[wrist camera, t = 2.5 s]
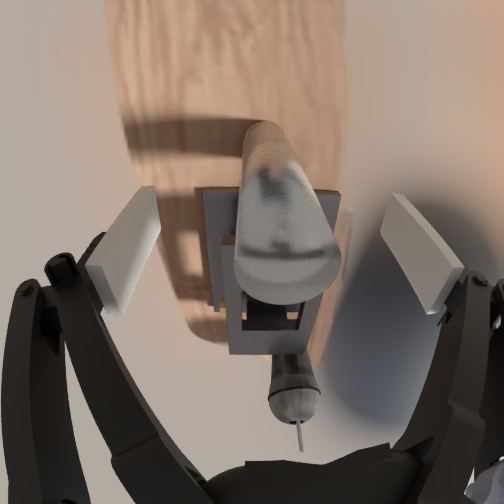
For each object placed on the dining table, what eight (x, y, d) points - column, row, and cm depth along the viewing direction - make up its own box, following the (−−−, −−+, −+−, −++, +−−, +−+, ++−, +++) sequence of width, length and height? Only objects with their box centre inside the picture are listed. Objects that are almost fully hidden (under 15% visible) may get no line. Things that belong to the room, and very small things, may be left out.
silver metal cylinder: (243, 120, 23) (232, 220, 9) (287, 121, 23) (352, 223, 9) (243, 161, 26) (234, 307, 11) (284, 162, 26) (328, 306, 11)
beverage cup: (260, 342, 44) (264, 458, 28) (269, 315, 40) (276, 450, 24) (302, 344, 45) (316, 455, 29) (316, 318, 40) (337, 445, 24)
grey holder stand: (203, 187, 27) (188, 234, 20) (338, 191, 27) (366, 237, 21) (214, 306, 38) (209, 357, 31) (312, 306, 38) (322, 356, 32)
